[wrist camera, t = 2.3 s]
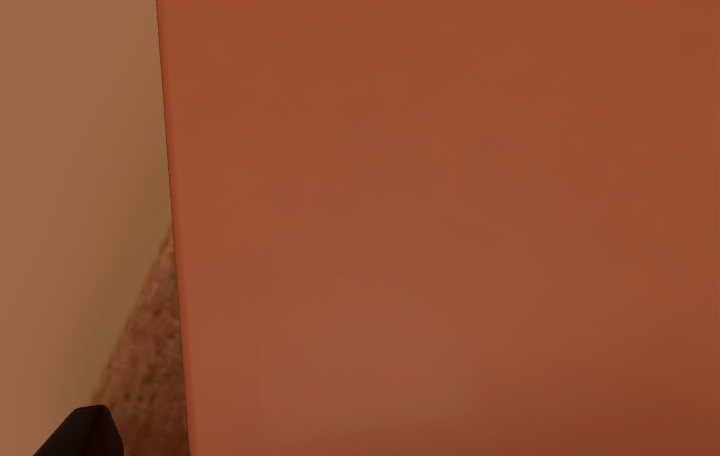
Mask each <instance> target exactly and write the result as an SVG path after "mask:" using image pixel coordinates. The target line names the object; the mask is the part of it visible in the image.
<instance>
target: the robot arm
mask: <svg viewBox="0 0 720 456" xmlns="http://www.w3.org/2000/svg"><path fill="white" fill-rule="evenodd" d="M33 456H124V449H123V443H122V439H121V437H120V434H119V432H118V430H117V427H116V425H115V423H114V420H113V418H112V415H111V413H110V411H109V409H108V408H107V407H106V406H105V405H95V406H88V407H81V408H77V409H75V410H74V411H73V412H72V413H70V414H69V416H68V417H67V418H66V419H65V420H64V421H63V422H62V424H61V425H60V426H59V427H58V428H57V429H56V431H54V433H53V434H52V435H51V436H50V437H49V438H48V440H47V441H46V442H45V443H44V444H43V445H42V446H41V448H39V450H38V451H37V452H36V453H35V454H34V455H33Z"/></svg>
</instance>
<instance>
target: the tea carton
mask: <svg viewBox="0 0 720 456" xmlns="http://www.w3.org/2000/svg"><path fill="white" fill-rule="evenodd" d="M156 7H157V21H158V35H159V49H160V62H161V76H162V90H163V102H164V116H165V130H166V144H167V156H168V171H169V184H170V197H171V212H172V225H173V239H174V252H175V266H176V280H177V293H178V307H179V320H180V334H181V347H182V361H183V375H184V388H185V402H186V415H187V429H188V442H189V456H720V0H156Z"/></svg>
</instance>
